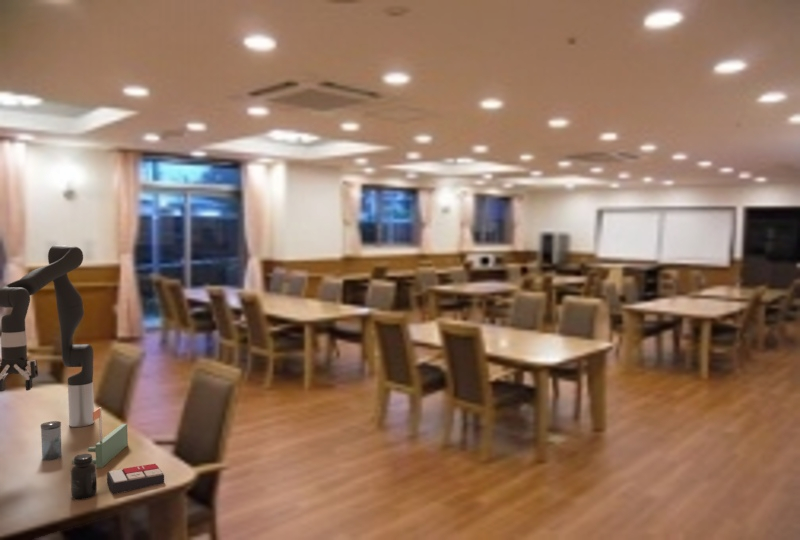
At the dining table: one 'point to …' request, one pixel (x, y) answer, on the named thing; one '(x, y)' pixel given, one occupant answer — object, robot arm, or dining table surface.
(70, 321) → the robot arm
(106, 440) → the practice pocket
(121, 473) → the calculator
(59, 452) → the slate canister
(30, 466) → the dining table surface
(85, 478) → the supplement bottle
